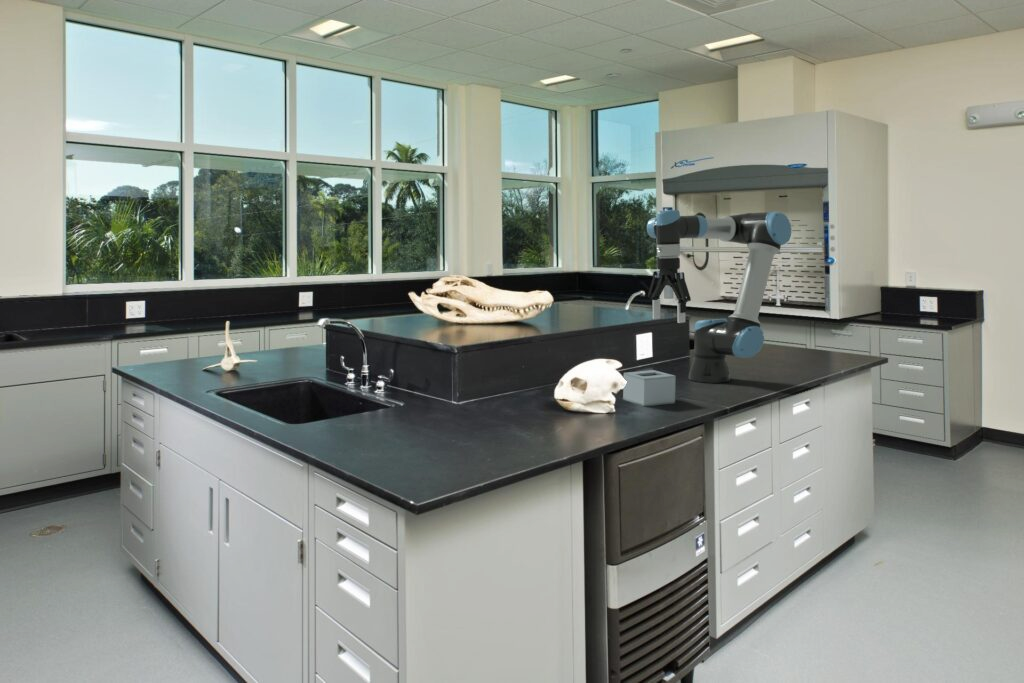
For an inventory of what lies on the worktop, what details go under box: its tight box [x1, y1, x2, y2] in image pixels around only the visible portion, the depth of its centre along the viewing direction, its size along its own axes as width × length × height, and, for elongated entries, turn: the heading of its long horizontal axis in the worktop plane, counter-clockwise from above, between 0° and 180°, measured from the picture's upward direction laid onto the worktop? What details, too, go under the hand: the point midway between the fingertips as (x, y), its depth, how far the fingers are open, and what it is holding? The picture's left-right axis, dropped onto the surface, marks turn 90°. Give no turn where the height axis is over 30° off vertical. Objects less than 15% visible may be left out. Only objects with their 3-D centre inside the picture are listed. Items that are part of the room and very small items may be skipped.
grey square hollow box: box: [622, 369, 677, 408], centre depth 247 cm, size 12×12×9 cm
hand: (668, 320), depth 254 cm, fingers open, 13 cm apart
